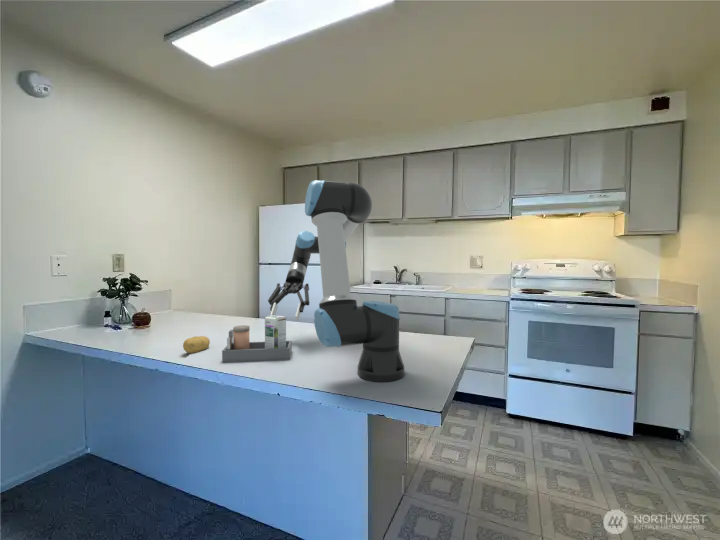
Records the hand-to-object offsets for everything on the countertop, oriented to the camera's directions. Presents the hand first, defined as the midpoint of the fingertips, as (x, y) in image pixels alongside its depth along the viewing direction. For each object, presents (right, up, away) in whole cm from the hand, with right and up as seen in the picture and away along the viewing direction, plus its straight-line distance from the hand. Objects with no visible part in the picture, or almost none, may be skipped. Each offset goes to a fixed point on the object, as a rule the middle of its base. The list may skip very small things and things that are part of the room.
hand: (284, 318), depth 134 cm
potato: (-34, -14, 0) cm, 37 cm away
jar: (-13, -13, -10) cm, 21 cm away
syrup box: (-1, -13, -8) cm, 15 cm away
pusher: (-17, -12, -10) cm, 23 cm away
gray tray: (-7, -14, -9) cm, 18 cm away
